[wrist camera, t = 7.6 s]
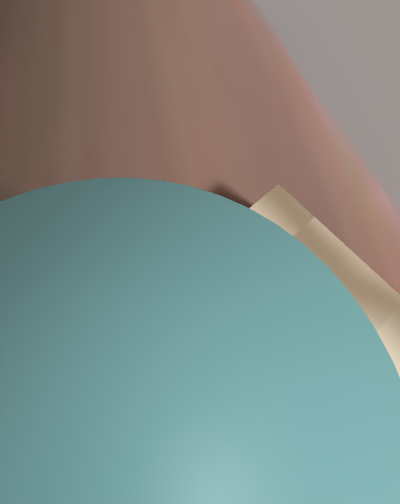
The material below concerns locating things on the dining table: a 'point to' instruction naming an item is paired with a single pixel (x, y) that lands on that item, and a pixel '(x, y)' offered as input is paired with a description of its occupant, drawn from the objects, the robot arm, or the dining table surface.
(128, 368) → the dowel
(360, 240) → the dining table surface
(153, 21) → the dining table surface
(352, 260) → the pocket collar
